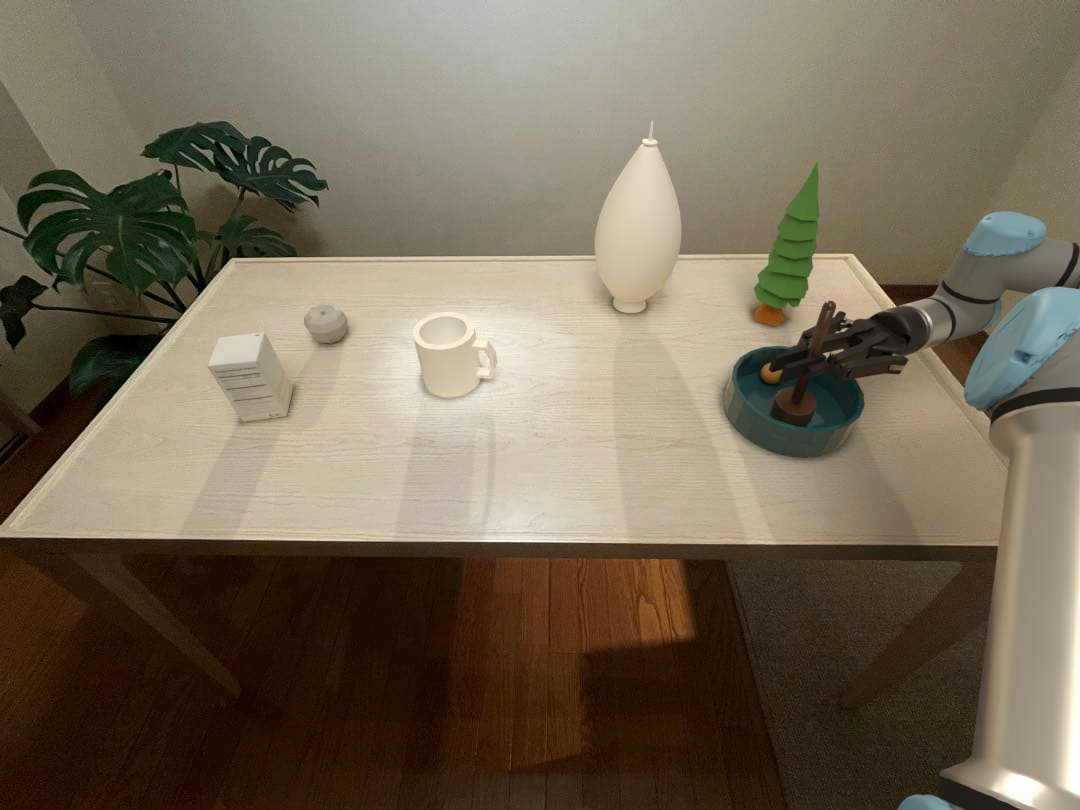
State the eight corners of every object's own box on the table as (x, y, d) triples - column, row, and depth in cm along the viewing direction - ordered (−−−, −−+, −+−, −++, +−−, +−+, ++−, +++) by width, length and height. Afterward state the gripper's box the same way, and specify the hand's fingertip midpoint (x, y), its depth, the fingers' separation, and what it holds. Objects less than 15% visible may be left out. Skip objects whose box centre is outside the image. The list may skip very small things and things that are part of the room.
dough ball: (790, 380, 88) (785, 360, 87) (771, 388, 87) (766, 368, 86) (776, 377, 91) (771, 358, 90) (758, 385, 91) (753, 366, 90)
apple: (309, 353, 99) (297, 326, 94) (312, 329, 104) (301, 301, 100) (353, 347, 100) (343, 319, 95) (353, 323, 105) (344, 295, 101)
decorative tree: (743, 302, 108) (790, 150, 86) (790, 304, 107) (849, 151, 86) (752, 331, 101) (805, 174, 80) (802, 333, 100) (870, 175, 79)
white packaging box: (251, 392, 92) (217, 335, 83) (294, 387, 92) (266, 330, 83) (241, 423, 86) (204, 366, 77) (287, 417, 87) (256, 360, 78)
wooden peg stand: (820, 419, 82) (868, 307, 66) (788, 432, 81) (828, 322, 65) (794, 394, 86) (833, 283, 70) (763, 407, 85) (795, 296, 69)
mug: (504, 363, 96) (500, 315, 88) (492, 402, 89) (486, 354, 81) (433, 356, 98) (423, 309, 90) (416, 394, 90) (403, 346, 83)
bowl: (876, 436, 82) (894, 409, 78) (773, 473, 77) (786, 447, 73) (793, 361, 95) (804, 335, 90) (700, 389, 90) (707, 363, 86)
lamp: (586, 284, 114) (595, 106, 89) (659, 281, 114) (688, 103, 89) (596, 329, 102) (609, 139, 78) (676, 325, 103) (715, 135, 78)
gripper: (934, 378, 77) (805, 422, 71) (858, 323, 87) (739, 358, 81) (962, 337, 72) (825, 382, 66) (878, 284, 81) (752, 318, 76)
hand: (778, 368), depth 73 cm, fingers closed on wooden peg stand, 2 cm apart
